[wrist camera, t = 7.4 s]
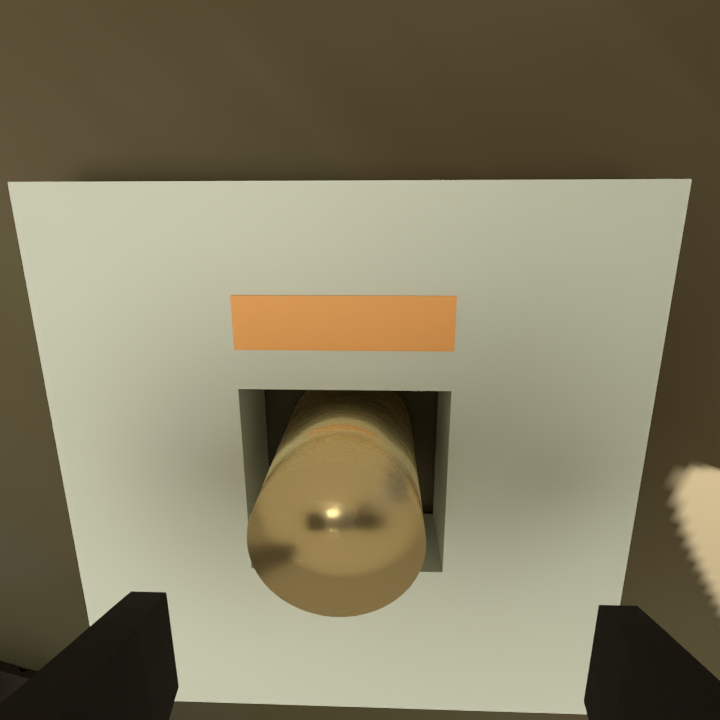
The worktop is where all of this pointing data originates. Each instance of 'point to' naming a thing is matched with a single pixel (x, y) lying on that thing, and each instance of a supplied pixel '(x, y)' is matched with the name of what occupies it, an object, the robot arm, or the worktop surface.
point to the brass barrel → (341, 505)
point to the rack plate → (358, 372)
